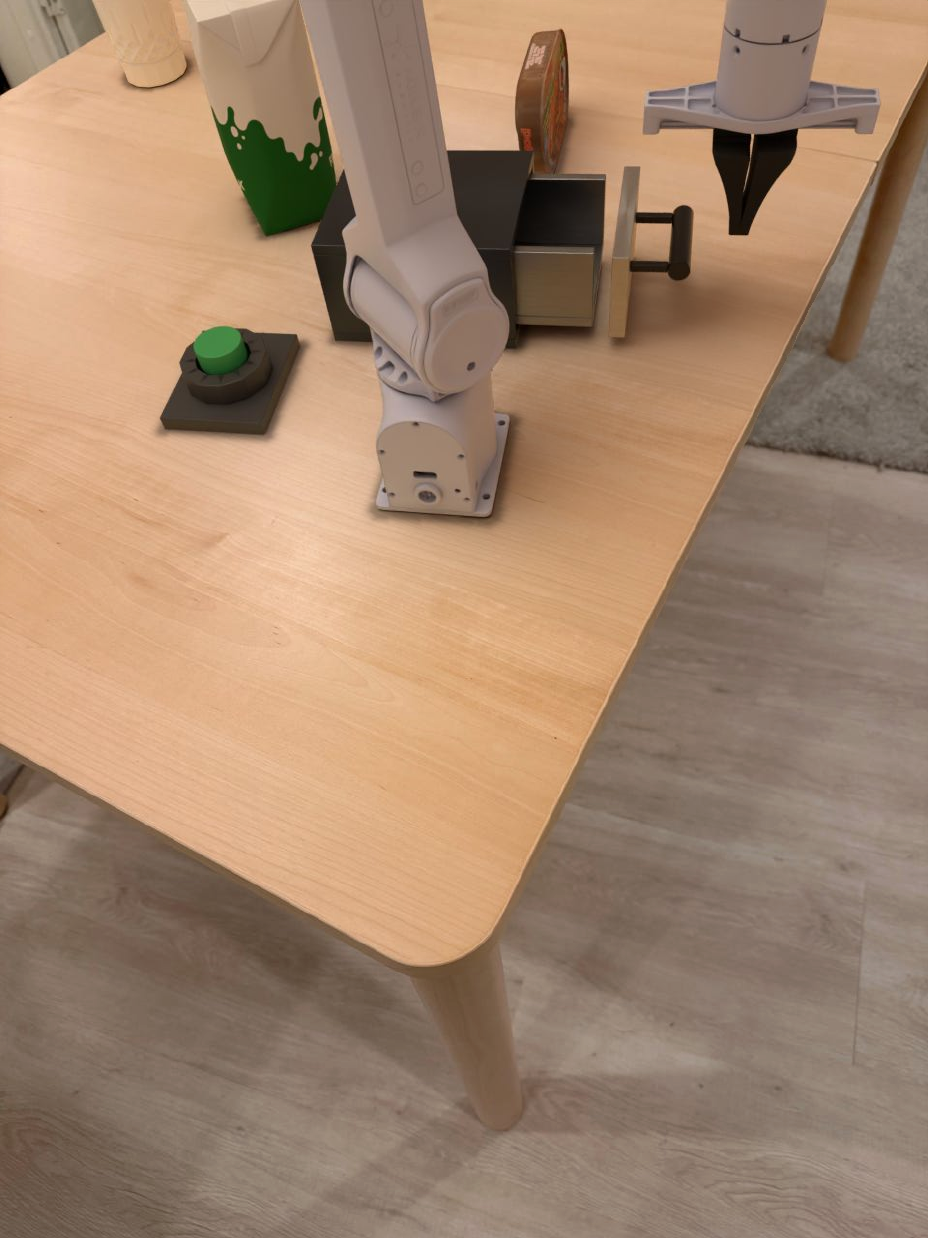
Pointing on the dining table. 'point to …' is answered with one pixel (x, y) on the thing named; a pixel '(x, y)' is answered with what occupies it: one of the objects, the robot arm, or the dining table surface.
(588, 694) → the dining table surface
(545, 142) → the tin
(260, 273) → the dining table surface
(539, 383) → the dining table surface
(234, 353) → the button
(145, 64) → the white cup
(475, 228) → the cabinet
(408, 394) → the robot arm
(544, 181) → the drawer
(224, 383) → the button box
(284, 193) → the milk carton
